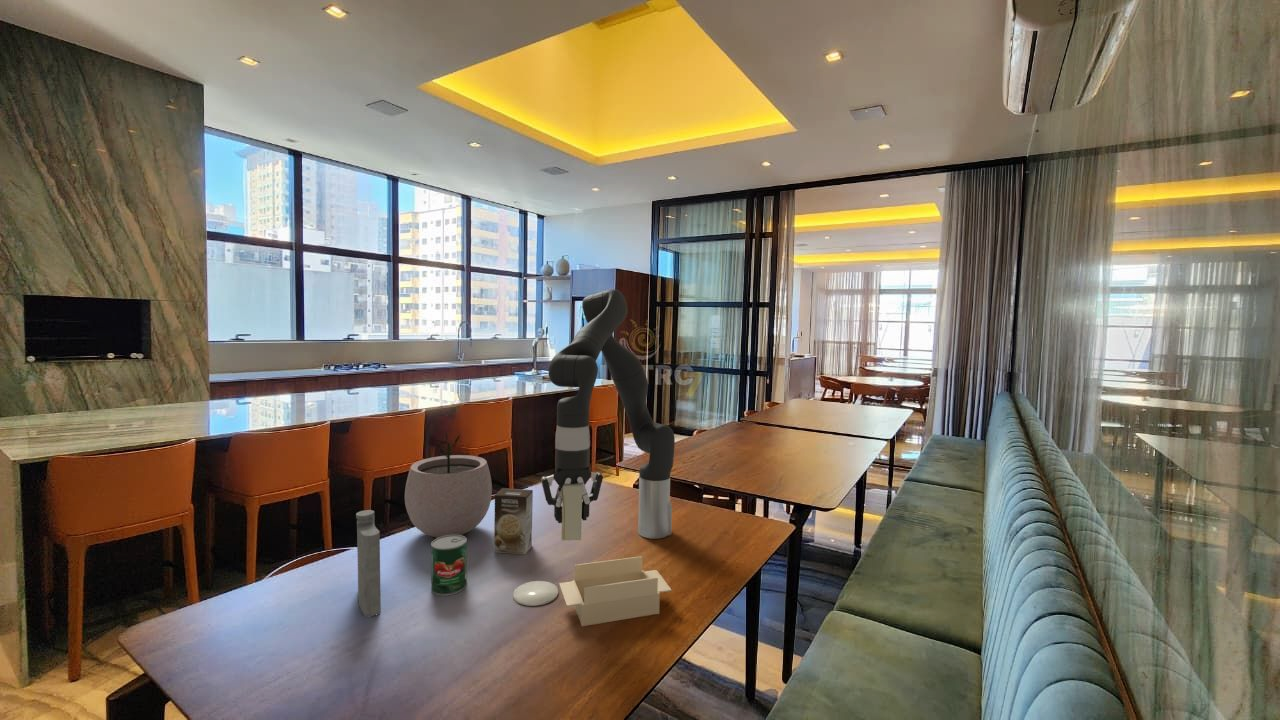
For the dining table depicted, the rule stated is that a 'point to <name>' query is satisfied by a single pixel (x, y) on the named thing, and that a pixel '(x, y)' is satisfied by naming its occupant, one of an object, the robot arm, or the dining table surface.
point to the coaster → (535, 593)
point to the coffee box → (513, 521)
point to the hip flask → (368, 563)
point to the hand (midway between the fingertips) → (571, 520)
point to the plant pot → (448, 493)
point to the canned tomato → (448, 564)
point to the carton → (613, 590)
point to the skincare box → (572, 512)
